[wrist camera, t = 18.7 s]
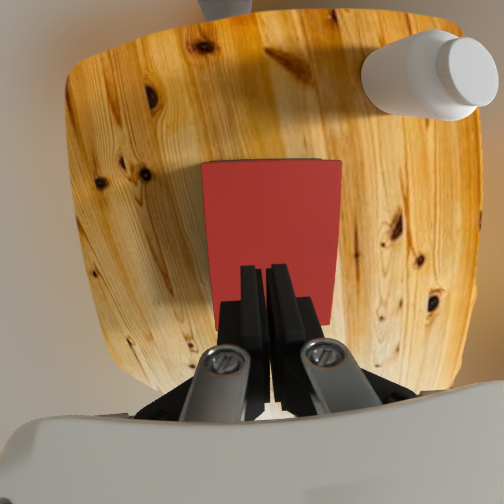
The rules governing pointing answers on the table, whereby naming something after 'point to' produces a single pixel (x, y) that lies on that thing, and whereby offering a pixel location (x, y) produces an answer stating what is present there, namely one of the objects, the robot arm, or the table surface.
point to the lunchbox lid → (273, 225)
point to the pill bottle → (430, 76)
